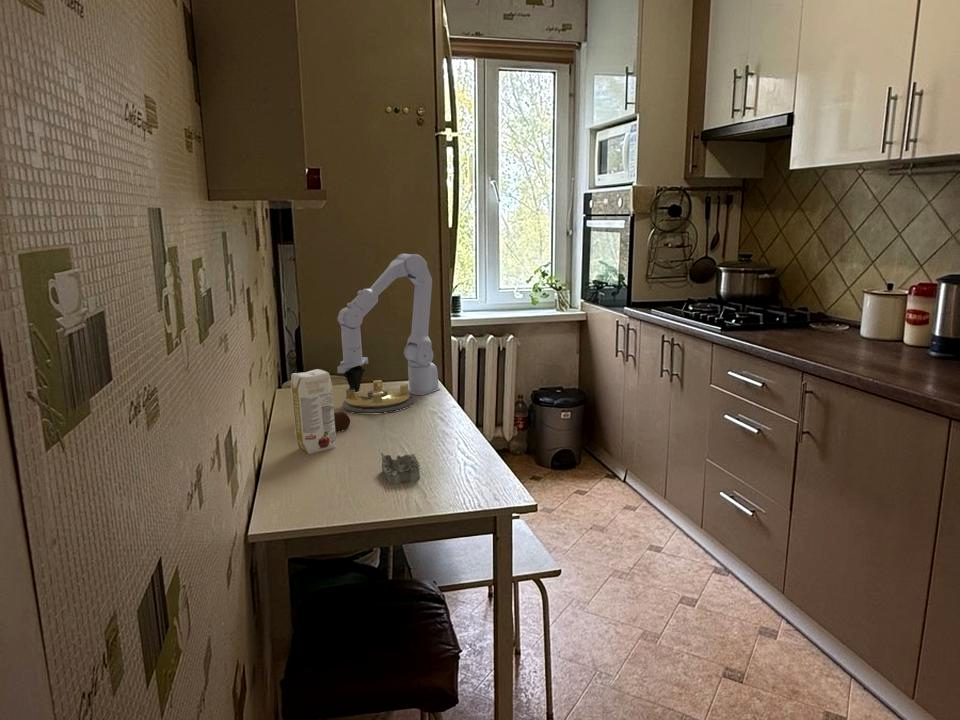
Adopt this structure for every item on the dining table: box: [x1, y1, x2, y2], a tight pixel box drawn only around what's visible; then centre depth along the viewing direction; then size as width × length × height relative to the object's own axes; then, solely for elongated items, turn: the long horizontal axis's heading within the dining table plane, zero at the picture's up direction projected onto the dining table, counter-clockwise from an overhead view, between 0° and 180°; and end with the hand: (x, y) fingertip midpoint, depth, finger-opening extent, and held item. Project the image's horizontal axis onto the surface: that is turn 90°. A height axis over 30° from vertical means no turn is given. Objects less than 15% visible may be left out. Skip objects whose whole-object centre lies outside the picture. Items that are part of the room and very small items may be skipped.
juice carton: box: [290, 368, 337, 455], centre depth 161 cm, size 8×9×19 cm
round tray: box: [345, 379, 411, 408], centre depth 201 cm, size 19×19×4 cm
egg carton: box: [380, 452, 421, 485], centre depth 144 cm, size 11×8×4 cm
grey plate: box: [342, 394, 414, 414], centre depth 202 cm, size 21×21×1 cm
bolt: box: [334, 411, 351, 433], centre depth 182 cm, size 6×5×15 cm
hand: (355, 391), depth 204 cm, fingers closed
